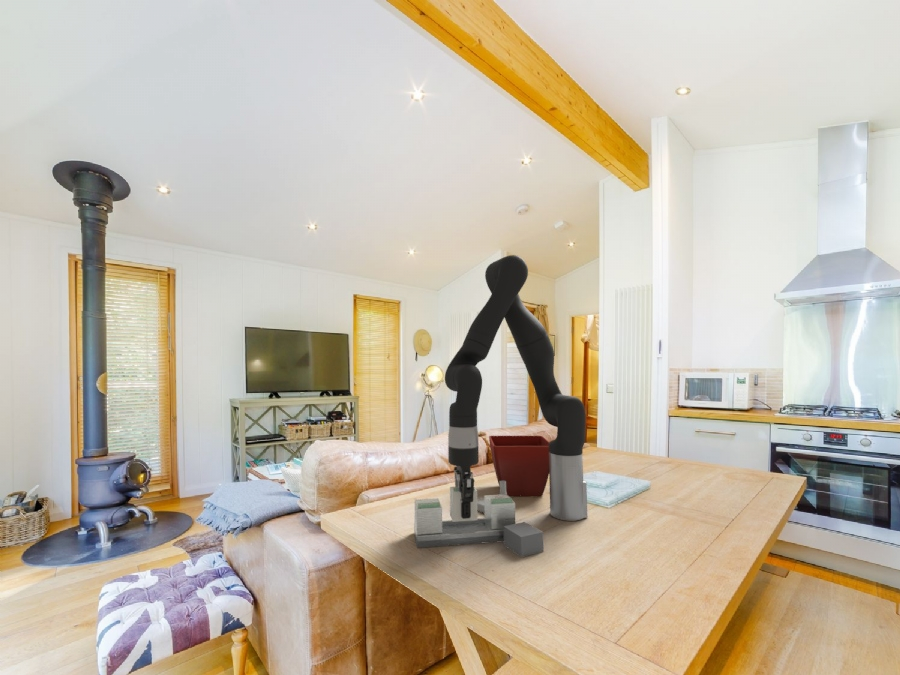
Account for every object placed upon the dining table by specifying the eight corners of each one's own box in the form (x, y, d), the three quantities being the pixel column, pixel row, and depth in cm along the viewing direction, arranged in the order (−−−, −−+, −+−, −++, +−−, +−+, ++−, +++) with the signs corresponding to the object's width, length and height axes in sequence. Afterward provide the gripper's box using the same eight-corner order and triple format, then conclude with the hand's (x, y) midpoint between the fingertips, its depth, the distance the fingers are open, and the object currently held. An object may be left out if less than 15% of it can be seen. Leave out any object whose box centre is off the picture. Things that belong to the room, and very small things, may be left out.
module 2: (524, 541, 101) (524, 521, 102) (543, 552, 95) (542, 532, 95) (503, 546, 99) (503, 526, 99) (521, 558, 92) (521, 537, 93)
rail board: (506, 526, 110) (505, 490, 111) (517, 540, 101) (516, 501, 102) (414, 532, 106) (414, 496, 107) (417, 548, 98) (417, 507, 98)
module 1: (473, 513, 107) (473, 484, 107) (477, 520, 102) (477, 489, 103) (450, 515, 106) (450, 485, 106) (453, 521, 101) (453, 490, 102)
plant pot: (555, 500, 131) (554, 445, 132) (494, 500, 131) (493, 445, 132) (543, 483, 150) (541, 435, 151) (489, 483, 150) (488, 435, 151)
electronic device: (481, 472, 130) (516, 481, 118) (482, 505, 129) (518, 517, 117) (467, 475, 126) (502, 485, 114) (468, 509, 125) (504, 522, 114)
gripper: (484, 449, 99) (485, 524, 98) (472, 438, 113) (472, 504, 112) (453, 450, 98) (453, 526, 97) (444, 439, 112) (444, 505, 111)
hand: (463, 513), depth 104 cm, fingers closed on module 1, 4 cm apart
